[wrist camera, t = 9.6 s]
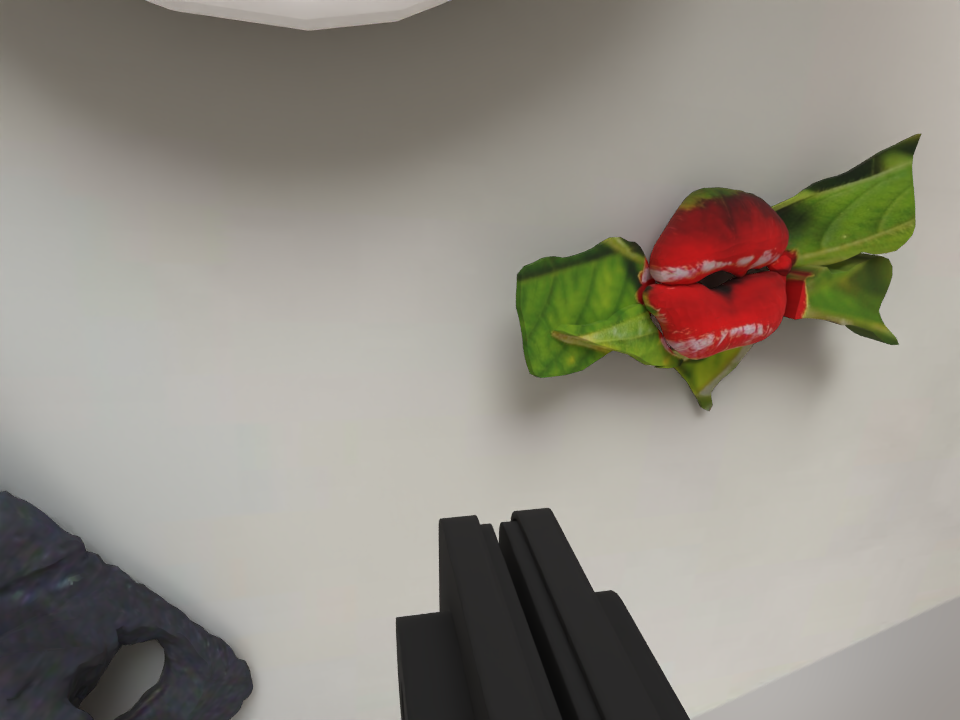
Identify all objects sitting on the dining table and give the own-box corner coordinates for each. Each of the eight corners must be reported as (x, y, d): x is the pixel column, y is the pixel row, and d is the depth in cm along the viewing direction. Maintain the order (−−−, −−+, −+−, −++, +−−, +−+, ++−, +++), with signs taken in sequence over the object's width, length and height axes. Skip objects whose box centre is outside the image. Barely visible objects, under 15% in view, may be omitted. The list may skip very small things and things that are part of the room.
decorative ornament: (933, 131, 23) (930, 401, 25) (829, 142, 27) (836, 371, 30) (517, 217, 20) (564, 513, 22) (477, 213, 24) (521, 461, 27)
